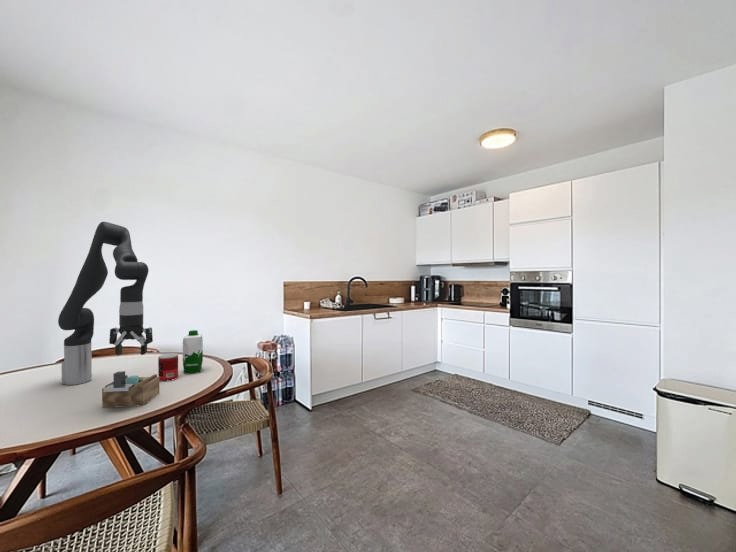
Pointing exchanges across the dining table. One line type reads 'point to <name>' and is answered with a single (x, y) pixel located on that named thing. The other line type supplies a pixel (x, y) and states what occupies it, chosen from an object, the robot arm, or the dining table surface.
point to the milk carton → (192, 352)
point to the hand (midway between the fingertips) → (131, 354)
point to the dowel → (132, 380)
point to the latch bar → (119, 383)
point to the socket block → (132, 393)
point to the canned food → (168, 366)
